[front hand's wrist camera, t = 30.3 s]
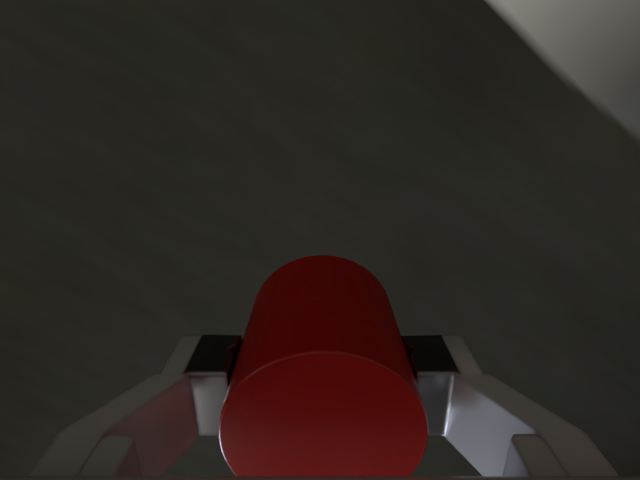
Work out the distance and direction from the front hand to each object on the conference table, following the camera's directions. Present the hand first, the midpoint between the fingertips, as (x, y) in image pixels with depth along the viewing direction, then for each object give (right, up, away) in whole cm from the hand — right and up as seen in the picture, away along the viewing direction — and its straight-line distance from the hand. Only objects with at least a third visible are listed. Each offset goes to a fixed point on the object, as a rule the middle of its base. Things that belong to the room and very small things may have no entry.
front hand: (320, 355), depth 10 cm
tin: (0, +1, +2) cm, 2 cm away
